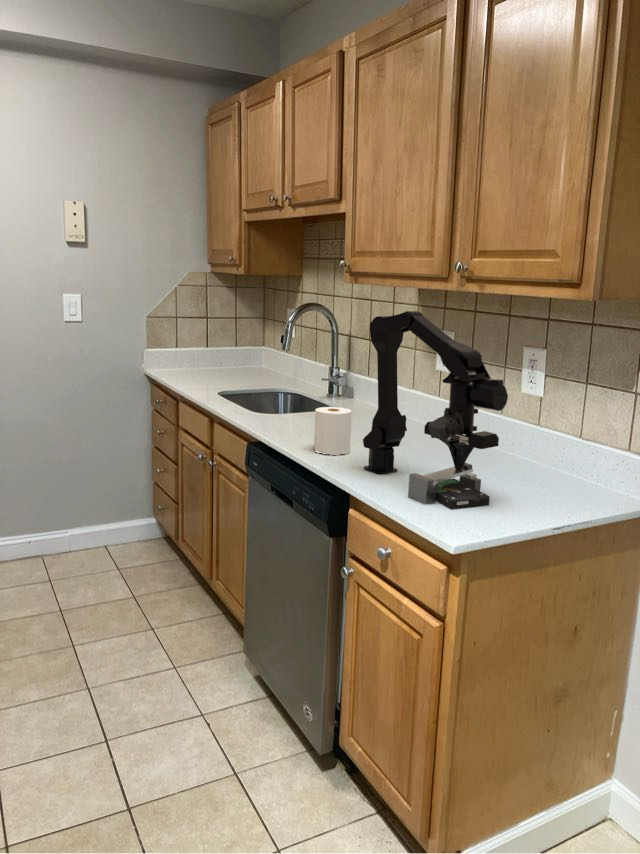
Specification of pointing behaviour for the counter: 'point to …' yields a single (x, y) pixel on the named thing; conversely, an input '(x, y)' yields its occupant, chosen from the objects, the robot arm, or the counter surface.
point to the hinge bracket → (422, 488)
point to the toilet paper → (332, 430)
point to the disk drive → (459, 495)
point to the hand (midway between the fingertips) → (458, 469)
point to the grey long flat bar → (450, 473)
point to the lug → (471, 480)
